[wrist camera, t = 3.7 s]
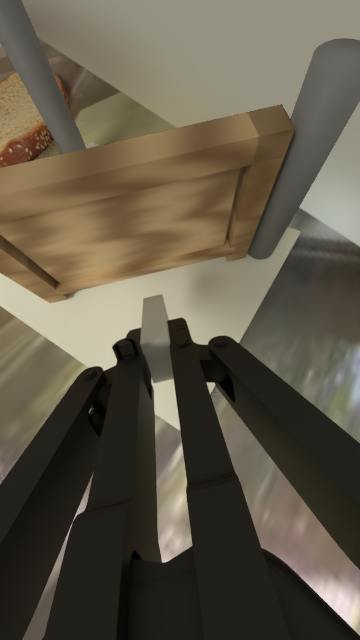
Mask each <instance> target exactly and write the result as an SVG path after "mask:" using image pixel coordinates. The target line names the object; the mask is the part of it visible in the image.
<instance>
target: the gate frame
mask: <svg viewBox="0 0 360 640" xmlns="http://www.w3.org/2000/svg"><path fill="white" fill-rule="evenodd" d="M0 43H1V44H2V46H3V48H4V50H5V52H6V53H7V55H8V57H9V59H10V61H11V62H12V64H13V66H14V68H15V70H16V72H17V73H18V75H19V77H20V79H21V81H22V82H23V84H24V86H25V88H26V90H27V91H28V93H29V95H30V97H31V99H32V100H33V102H34V104H35V106H36V108H37V109H38V111H39V113H40V115H41V117H42V118H43V120H44V122H45V124H46V126H47V128H48V129H49V131H50V133H51V135H52V137H53V138H54V140H55V142H56V144H57V146H58V147H59V149H60V151H61V153H62V154H65V153H69V152H73V151H78V150H82V149H87V148H91V147H96V146H100V145H98V144H96V143H94V142H90V143H89V144H88V145H87V147H86V146H85V144H84V142H83V139H82V137H81V135H80V132H79V130H78V128H77V126H76V123H75V121H74V119H73V117H72V114H71V112H70V110H69V107H68V105H67V103H66V101H65V98H64V96H63V94H62V92H61V89H60V87H59V85H58V83H57V80H56V78H55V76H54V73H53V71H52V69H51V67H50V64H49V62H48V60H47V58H46V55H45V53H44V51H43V48H42V46H41V44H40V42H39V39H38V37H37V35H36V33H35V30H34V28H33V26H32V24H31V21H30V19H29V17H28V15H27V12H26V10H25V8H24V5H23V3H22V1H21V0H0ZM359 101H360V41H359V40H355V39H335V40H330V41H328V42H325V43H323V44H322V45H320V46H319V47H317V48H316V50H315V51H314V54H313V57H312V60H311V62H310V66H309V68H308V71H307V74H306V77H305V79H304V82H303V85H302V88H301V91H300V93H299V96H298V99H297V102H296V105H295V108H294V110H293V113H292V116H291V119H290V120H291V121H292V123H293V125H294V127H295V130H294V133H293V136H292V138H291V141H290V143H289V146H288V148H287V151H286V154H285V156H284V159H283V161H282V164H281V167H280V169H279V172H278V174H277V177H276V180H275V182H274V185H273V187H272V190H271V192H270V195H269V198H268V200H267V203H266V205H265V208H264V211H263V213H262V216H261V218H260V221H259V224H258V226H257V229H256V231H255V234H254V237H253V239H252V242H251V244H250V247H249V249H248V252H247V255H246V257H245V258H241V259H237V260H233V261H228V262H227V260H226V257H225V256H224V257H219V258H215V259H211V260H207V261H202V262H198V263H194V264H190V265H185V266H181V267H177V268H173V269H168V270H164V271H160V272H156V273H151V274H147V275H143V276H139V277H134V278H130V279H126V280H122V281H117V282H113V283H109V284H105V285H100V286H96V287H92V288H87V289H83V290H79V291H75V292H70V293H68V295H69V299H67V300H63V301H58V302H54V303H48V302H47V301H45V300H44V299H42V298H40V297H39V296H37V295H35V294H34V293H32V292H30V291H29V290H27V289H26V288H24V287H22V286H21V285H19V284H17V283H16V282H14V281H13V280H11V279H9V278H8V277H6V276H4V275H3V274H1V273H0V306H1V307H3V308H4V309H6V310H7V311H8V312H10V313H11V314H13V315H14V316H16V317H17V318H19V319H20V320H21V321H23V322H24V323H26V324H27V325H29V326H30V327H31V328H33V329H34V330H36V331H37V332H39V333H40V334H42V335H43V336H44V337H46V338H47V339H49V340H50V341H52V342H53V343H54V344H56V345H57V346H59V347H60V348H62V349H63V350H65V351H66V352H67V353H69V354H70V355H72V356H73V357H75V358H76V359H77V360H79V361H80V362H82V363H83V364H85V365H86V366H87V367H89V368H90V367H94V366H100V367H102V368H103V371H105V370H107V369H109V368H111V367H113V366H115V365H116V363H117V358H116V356H115V354H114V351H113V349H112V346H113V345H114V344H115V343H116V342H117V341H119V340H121V339H124V338H126V335H127V334H128V332H129V331H130V330H133V329H137V328H141V325H142V310H143V298H147V297H151V296H155V295H160V294H163V298H164V302H165V306H166V310H167V314H168V318H169V320H173V319H177V318H181V317H182V318H183V319H185V320H186V322H187V325H188V329H189V332H190V335H191V338H192V340H193V342H195V343H197V344H201V345H208V342H209V341H210V340H211V339H212V338H214V337H217V336H229V337H231V338H233V339H234V340H235V341H236V342H237V343H239V342H240V340H241V339H242V337H243V335H244V333H245V331H246V330H247V328H248V326H249V324H250V322H251V321H252V319H253V317H254V315H255V313H256V312H257V310H258V308H259V306H260V305H261V303H262V301H263V299H264V297H265V296H266V294H267V292H268V290H269V288H270V287H271V285H272V283H273V281H274V279H275V278H276V276H277V274H278V272H279V271H280V269H281V267H282V265H283V263H284V262H285V260H286V258H287V256H288V254H289V253H290V251H291V249H292V247H293V246H294V244H295V242H296V240H297V238H298V237H299V235H300V233H301V232H300V231H298V230H295V229H293V228H291V227H288V225H289V224H290V222H291V220H292V218H293V217H294V215H295V213H296V211H297V210H298V208H299V206H300V204H301V203H302V201H303V199H304V197H305V196H306V194H307V192H308V190H309V189H310V187H311V185H312V183H313V182H314V180H315V178H316V176H317V174H318V173H319V171H320V169H321V167H322V166H323V164H324V162H325V160H326V159H327V157H328V155H329V153H330V152H331V150H332V148H333V147H334V145H335V143H336V141H337V140H338V138H339V136H340V134H341V133H342V131H343V129H344V127H345V126H346V124H347V122H348V120H349V119H350V117H351V115H352V113H353V111H354V110H355V108H356V106H357V104H358V103H359ZM151 382H152V386H153V389H154V413H155V414H156V415H158V416H159V417H161V418H162V419H164V420H165V421H166V422H168V423H169V424H171V425H172V426H174V427H175V428H177V429H178V430H179V431H180V423H179V416H178V408H177V401H176V393H175V386H174V379H171V380H166V381H162V382H158V383H153V380H152V378H151ZM206 383H207V386H208V389H209V392H210V394H211V392H212V390H213V389H214V387H215V383H209V382H206Z"/></svg>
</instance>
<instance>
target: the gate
mask: <svg viewBox="0 0 360 640" xmlns="http://www.w3.org/2000/svg"><path fill="white" fill-rule="evenodd" d="M294 130H295V127H294V125H293V123H292V121H291V120H290V118H289V116H288V115H287V113H286V111H285V109H284V108H283V106H282V105H277V106H273V107H269V108H264V109H259V110H255V111H251V112H246V113H242V114H237V115H233V116H228V117H224V118H220V119H215V120H211V121H207V122H202V123H198V124H194V125H189V126H184V127H180V128H175V129H171V130H166V131H162V132H158V133H153V134H149V135H144V136H140V137H135V138H131V139H127V140H122V141H118V142H113V143H109V144H104V145H100V146H96V147H91V148H87V149H82V150H78V151H73V152H69V153H65V154H60V155H56V156H51V157H47V158H43V159H38V160H34V161H29V162H25V163H20V164H16V165H12V166H7V167H3V168H0V273H1V274H3V275H4V276H6V277H8V278H9V279H11V280H13V281H14V282H16V283H17V284H19V285H21V286H22V287H24V288H26V289H27V290H29V291H30V292H32V293H34V294H35V295H37V296H39V297H40V298H42V299H44V300H45V301H47V302H48V303H54V302H58V301H63V300H67V299H69V295H68V293H70V292H75V291H79V290H83V289H87V288H92V287H96V286H100V285H105V284H109V283H113V282H117V281H122V280H126V279H130V278H134V277H139V276H143V275H147V274H151V273H156V272H160V271H164V270H168V269H173V268H177V267H181V266H185V265H190V264H194V263H198V262H202V261H207V260H211V259H215V258H219V257H224V256H225V257H226V260H227V262H228V261H233V260H237V259H241V258H245V257H246V255H247V252H248V249H249V247H250V244H251V242H252V239H253V237H254V234H255V231H256V229H257V226H258V224H259V221H260V218H261V216H262V213H263V211H264V208H265V205H266V203H267V200H268V198H269V195H270V192H271V190H272V187H273V185H274V182H275V180H276V177H277V174H278V172H279V169H280V167H281V164H282V161H283V159H284V156H285V154H286V151H287V148H288V146H289V143H290V141H291V138H292V136H293V133H294Z"/></svg>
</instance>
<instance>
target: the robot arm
mask: <svg viewBox="0 0 360 640" xmlns="http://www.w3.org/2000/svg"><path fill="white" fill-rule="evenodd" d="M112 349H113V351H114V354H115V356H116V358H117V363H116V365H115V366H113V367H111V368H109V369H107V370H105V371H103V368H102V367H100V366H94V367H90V368H88V369H86V370H84V371H83V372H82V373H81V374H80V375H79V376H78V377H77V379H76V380H75V381H74V383H73V384H72V385H71V387H70V388H69V390H68V391H67V392H66V394H65V395H64V397H63V398H62V399H61V401H60V402H59V404H58V405H57V406H56V408H55V409H54V411H53V412H52V413H51V415H50V416H49V418H48V419H47V420H46V422H45V423H44V424H43V426H42V427H41V429H40V430H39V431H38V433H37V434H36V436H35V437H34V438H33V440H32V441H31V443H30V444H29V445H28V447H27V448H26V450H25V451H24V452H23V454H22V455H21V457H20V458H19V459H18V461H17V462H16V464H15V465H14V466H13V468H12V469H11V470H10V472H9V473H8V475H7V476H6V477H5V479H4V480H3V482H2V483H1V484H0V640H22V639H23V637H24V635H25V632H26V630H27V628H28V626H29V623H30V621H31V619H32V617H33V615H34V612H35V610H36V608H37V605H38V603H39V600H40V598H41V596H42V593H43V591H44V588H45V586H46V584H47V581H48V579H49V576H50V574H51V572H52V569H53V567H54V565H55V562H56V560H57V557H58V555H59V553H60V550H61V548H62V545H63V543H64V541H65V538H66V536H67V533H68V531H69V529H70V526H71V524H72V521H73V519H74V517H75V514H76V512H77V509H78V507H79V505H80V502H81V500H82V498H83V495H84V493H85V490H86V488H87V486H88V483H89V481H90V478H91V476H92V474H93V471H94V474H93V478H92V483H91V488H90V493H89V498H88V502H87V506H86V509H85V510H84V512H82V513H80V514H79V515H77V516H76V518H75V520H74V521H73V524H72V527H71V530H70V533H69V537H68V541H67V545H66V549H65V554H64V558H63V562H62V566H61V570H60V574H59V578H58V582H57V586H56V590H55V595H54V599H53V603H52V607H51V611H50V615H49V619H48V623H47V627H46V631H45V636H44V637H43V639H42V640H360V636H359V635H358V634H357V633H356V632H355V631H354V630H353V629H352V628H351V627H350V626H349V625H348V624H347V623H346V622H345V621H344V620H343V619H342V618H341V617H340V616H339V615H338V614H337V613H336V612H335V611H334V610H333V609H332V608H331V607H330V606H329V605H328V604H327V603H326V602H325V601H324V600H323V599H322V598H321V597H320V596H319V595H318V594H317V593H316V592H315V591H314V590H313V589H312V588H311V587H310V586H309V585H308V584H307V583H306V582H305V581H304V580H303V579H302V578H301V577H300V576H299V575H298V574H297V573H296V572H295V571H294V570H292V569H291V568H290V567H289V566H288V565H287V564H286V563H285V562H283V561H282V560H281V559H279V558H278V557H277V556H275V555H274V554H272V553H270V552H269V551H267V550H265V549H263V548H261V546H260V543H259V540H258V536H257V533H256V530H255V527H254V524H253V521H252V518H251V515H250V512H249V509H248V506H247V502H246V499H245V496H244V493H243V490H242V487H241V484H240V481H239V479H238V476H237V475H236V473H235V471H234V468H233V465H232V462H231V459H230V456H229V452H228V449H227V446H226V443H225V440H224V437H223V433H222V430H221V427H220V424H219V421H218V418H217V414H216V411H215V408H214V405H213V402H212V399H211V395H210V392H209V389H208V386H207V383H206V382H209V383H215V385H216V387H217V388H218V389H219V391H220V392H221V393H222V395H223V396H224V397H225V398H226V400H227V401H228V402H229V404H230V405H231V406H232V408H233V409H234V410H235V412H236V413H237V414H238V415H239V417H240V418H241V419H242V421H243V422H244V423H245V425H246V426H247V427H248V429H249V430H250V431H251V432H252V434H253V435H254V436H255V438H256V439H257V440H258V442H259V443H260V444H261V445H262V447H263V448H264V449H265V451H266V452H267V453H268V455H269V456H270V457H271V459H272V460H273V461H274V462H275V464H276V465H277V466H278V468H279V469H280V470H281V472H282V473H283V474H284V476H285V477H286V478H287V479H288V481H289V482H290V483H291V485H292V486H293V487H294V489H295V490H296V491H297V493H298V494H299V495H300V496H301V498H302V499H303V500H304V502H305V503H306V504H307V506H308V507H309V508H310V510H311V511H312V512H313V513H314V515H315V516H316V517H317V519H318V520H319V521H320V523H321V524H322V525H323V527H324V528H325V529H326V530H327V532H328V533H329V534H330V536H331V537H332V538H333V539H334V541H335V542H336V543H337V544H338V546H339V547H340V548H341V549H342V550H343V552H344V553H345V554H346V555H347V556H348V558H349V559H350V560H351V561H352V562H353V563H354V564H355V565H356V566H357V567H358V568H359V569H360V443H359V442H357V441H356V440H355V439H354V438H353V437H351V436H350V435H349V434H348V433H347V432H345V431H344V430H343V429H342V428H340V427H339V426H338V425H337V424H336V423H334V422H333V421H332V420H331V419H330V418H328V417H327V416H326V415H325V414H323V413H322V412H321V411H320V410H319V409H317V408H316V407H315V406H314V405H313V404H311V403H310V402H309V401H308V400H307V399H305V398H304V397H303V396H302V395H300V394H299V393H298V392H297V391H296V390H294V389H293V388H292V387H291V386H290V385H288V384H287V383H286V382H285V381H283V380H282V379H281V378H280V377H279V376H277V375H276V374H275V373H274V372H273V371H271V370H270V369H269V368H268V367H266V366H265V365H264V364H263V363H262V362H260V361H259V360H258V359H257V358H256V357H254V356H253V355H252V354H251V353H250V352H248V351H247V350H246V349H245V348H243V347H242V346H241V345H240V344H239V343H237V342H236V341H235V340H234V339H233V338H231V337H229V336H217V337H214V338H212V339H211V340H210V341H209V342H208V345H201V344H197V343H195V342H193V340H192V338H191V335H190V332H189V329H188V325H187V322H186V320H185V319H183V318H182V317H181V318H177V319H173V320H169V318H168V314H167V310H166V306H165V302H164V298H163V294H160V295H155V296H151V297H147V298H143V310H142V325H141V328H137V329H133V330H130V331H129V332H128V334H127V335H126V338H124V339H121V340H119V341H117V342H116V343H115V344H114V345H113V346H112ZM151 378H152V380H153V383H158V382H162V381H166V380H171V379H174V386H175V393H176V401H177V408H178V416H179V423H180V431H181V438H182V446H183V453H184V461H185V468H186V476H187V487H186V494H187V503H188V511H189V519H190V527H191V536H192V544H193V546H192V547H190V548H189V549H187V550H185V551H184V552H182V553H181V554H179V555H178V556H176V557H175V558H173V559H171V560H170V561H168V562H166V563H162V560H161V554H160V549H159V544H158V532H157V493H156V454H155V415H154V389H153V386H152V382H151ZM90 408H92V410H91V412H90V413H89V410H90Z"/></svg>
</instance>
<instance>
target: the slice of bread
mask: <svg viewBox="0 0 360 640" xmlns="http://www.w3.org/2000/svg"><path fill="white" fill-rule="evenodd" d="M54 76H55V78H56V80H57V83H58V85H59V87H60V89H61V92H62V94H63V96H64V98H65V101H66V103H67V105H68V94H67V91H66V89H65V87H64V85H63V83H62V82H61V80H60V79H59V77H57V76H56V75H55V74H54ZM53 139H54V138H53V137H52V135H51V133H50V131H49V129H48V128H47V126H46V124H45V122H44V120H43V118H42V117H41V115H40V113H39V111H38V109H37V108H36V106H35V104H34V102H33V100H32V99H31V97H30V95H29V93H28V91H27V90H26V88H25V86H24V84H23V82H22V81H21V79H20V77H19V75H18V73H17V72H16V73H13V74H12V75H11V76H9V77H8V79H5V80H4V81H2V82H1V84H0V168H3V167H7V166H12V165H16V164H20V163H25V162H29V161H31V160H33V159H34V158H36V157H37V156H38V155H39V154H41V153H42V152H43V151H44V150H45V148H46V147H47V146H48V145H49V144H50V143H51V141H52V140H53Z"/></svg>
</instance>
